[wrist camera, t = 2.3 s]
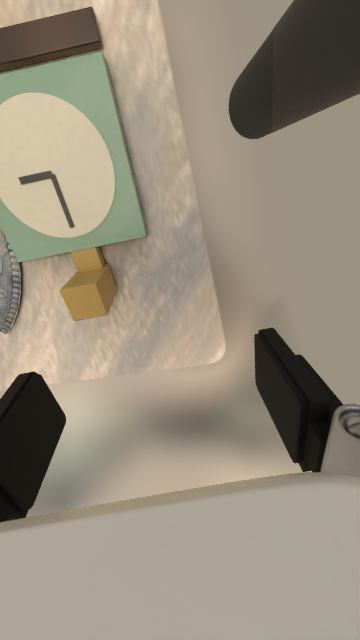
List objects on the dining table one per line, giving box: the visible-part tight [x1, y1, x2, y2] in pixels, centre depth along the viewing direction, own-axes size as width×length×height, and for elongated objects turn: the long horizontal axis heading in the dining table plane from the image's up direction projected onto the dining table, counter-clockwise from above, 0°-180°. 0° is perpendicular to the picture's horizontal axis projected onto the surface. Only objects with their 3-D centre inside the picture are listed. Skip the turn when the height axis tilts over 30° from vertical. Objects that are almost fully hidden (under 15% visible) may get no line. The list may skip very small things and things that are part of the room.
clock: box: [0, 51, 147, 321], centre depth 19 cm, size 12×17×6 cm
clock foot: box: [0, 7, 103, 71], centre depth 17 cm, size 12×2×1 cm, turn 100°
